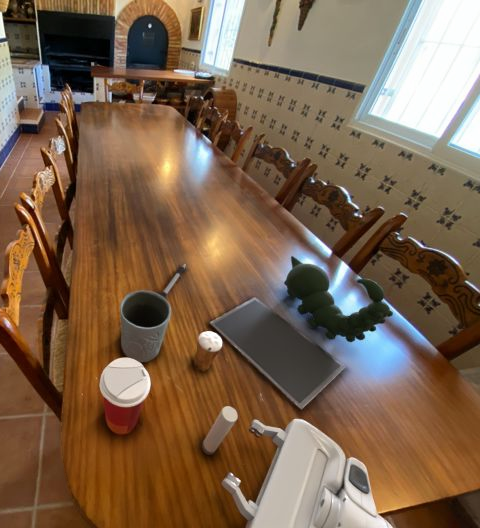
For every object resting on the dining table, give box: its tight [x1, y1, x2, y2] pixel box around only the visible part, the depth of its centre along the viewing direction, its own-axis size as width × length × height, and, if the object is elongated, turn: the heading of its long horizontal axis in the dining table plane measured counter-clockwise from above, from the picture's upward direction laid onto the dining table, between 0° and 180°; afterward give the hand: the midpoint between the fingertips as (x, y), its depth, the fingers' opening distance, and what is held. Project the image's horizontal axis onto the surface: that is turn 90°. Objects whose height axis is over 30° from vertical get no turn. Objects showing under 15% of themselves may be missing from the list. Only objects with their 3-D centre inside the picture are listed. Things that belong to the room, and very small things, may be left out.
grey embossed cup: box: [119, 290, 172, 363], centre depth 62 cm, size 10×10×12 cm
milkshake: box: [193, 330, 223, 372], centre depth 59 cm, size 4×5×10 cm
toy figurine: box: [283, 255, 394, 343], centre depth 70 cm, size 9×19×25 cm
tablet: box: [208, 296, 346, 412], centre depth 67 cm, size 24×17×1 cm
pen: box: [160, 263, 187, 298], centre depth 82 cm, size 1×16×1 cm, turn 150°
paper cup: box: [98, 357, 151, 435], centre depth 49 cm, size 8×8×14 cm
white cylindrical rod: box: [201, 405, 238, 456], centre depth 46 cm, size 2×2×13 cm
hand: (238, 449), depth 44 cm, fingers open, 8 cm apart
